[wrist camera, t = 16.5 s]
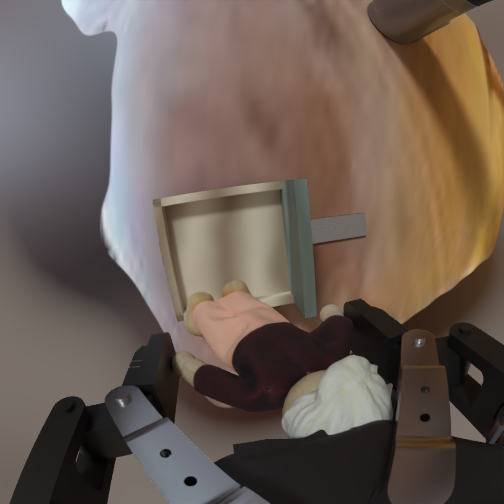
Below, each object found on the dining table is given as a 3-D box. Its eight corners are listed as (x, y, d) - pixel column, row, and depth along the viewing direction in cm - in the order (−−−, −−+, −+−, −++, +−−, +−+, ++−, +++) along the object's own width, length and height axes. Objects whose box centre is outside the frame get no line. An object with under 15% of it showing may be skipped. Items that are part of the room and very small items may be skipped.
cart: (281, 181, 32) (306, 178, 23) (292, 285, 35) (316, 316, 26) (162, 198, 30) (142, 201, 22) (182, 302, 34) (172, 340, 25)
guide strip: (363, 212, 34) (364, 212, 34) (364, 235, 35) (366, 235, 35) (159, 241, 32) (158, 242, 31) (164, 266, 32) (163, 266, 32)
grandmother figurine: (185, 358, 16) (267, 542, 4) (156, 306, 15) (202, 510, 3) (290, 302, 18) (458, 396, 6) (271, 250, 17) (470, 310, 5)
